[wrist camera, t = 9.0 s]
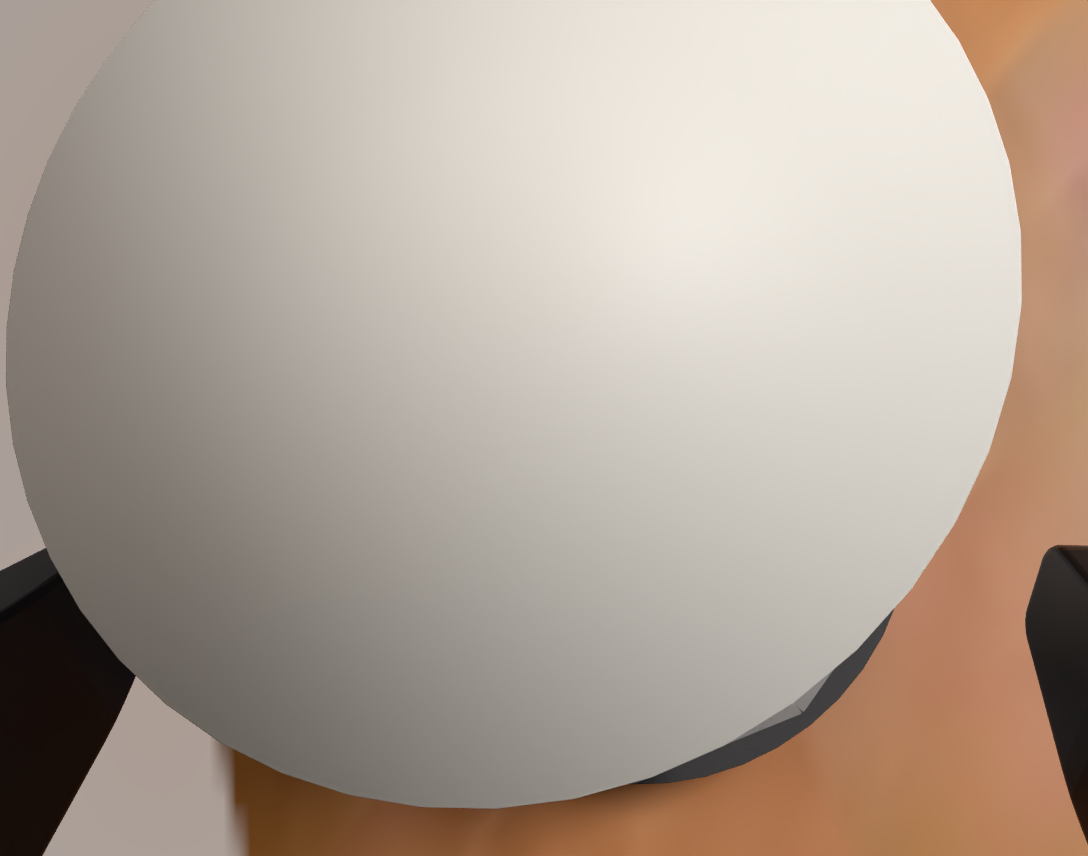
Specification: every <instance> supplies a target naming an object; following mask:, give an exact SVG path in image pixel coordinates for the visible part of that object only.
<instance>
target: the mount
mask: <svg viewBox="0 0 1088 856" xmlns="http://www.w3.org/2000/svg"><path fill="white" fill-rule="evenodd" d="M893 610H894V609H893ZM893 610H892V611H891V612H890V613H889V615H888V616H887V617H886V618H885V619H884V620H883V621H882V622H881V623H880V625H879V626H878V627H877V628H876V629H875V630H874V631H873V632H872V634H871V635H870V636H869V637H868V638H867V639H866V640H865V641H864V642H863V644H862V645H861V646H860V647H859V648H858V649H857V650H856V651H855V652H854V653H852V654H851V655H850V656H849V657H848V658H847V659H845V660H844V661H843V662H842V663H841V664H839V665H838V666H837V667H836V668H835V669H833V670H832V671H831V672H830V673H829V674H827V675H826V676H825V677H824V678H823V679H821V680H820V681H819V682H818V683H817V684H815V685H814V686H813V687H812V688H811V689H809V690H808V691H807V692H806V693H805V694H804V695H802V696H801V697H800V698H799V699H798V700H796V701H795V702H794V703H792V704H791V705H789V706H787V707H786V708H784V709H783V710H781V711H779V712H778V713H776V714H774V715H773V716H771V717H770V718H768V719H766V720H765V721H763V722H762V723H760V724H758V725H757V726H755V727H753V728H752V729H750V730H749V731H747V732H745V733H744V734H742V735H741V736H739V737H737V738H736V739H734V740H733V741H731V742H729V743H728V744H726V745H724V746H722V747H720V748H717V749H715V750H713V751H711V752H708V753H706V754H704V755H701V756H699V757H697V758H695V759H692V760H690V761H688V762H685V763H683V764H681V765H679V766H676V767H674V768H672V769H669V770H667V771H665V772H663V773H660V774H658V775H656V776H653V777H651V778H648V779H644V780H640V781H637V782H633V783H630V784H652V783H671V782H677V781H682V780H688V779H694V778H700V777H706V776H709V775H712V774H715V773H718V772H721V771H724V770H727V769H730V768H733V767H737V766H740V765H743V764H745V763H747V762H749V761H751V760H753V759H755V758H757V757H759V756H761V755H763V754H765V753H767V752H769V751H771V750H773V749H775V748H777V747H779V746H780V745H782V744H783V743H785V742H786V741H788V740H789V739H791V738H792V737H794V736H795V735H797V734H798V733H799V732H801V731H802V730H804V729H805V728H807V727H808V726H810V725H811V724H812V723H813V722H814V721H815V720H816V719H817V718H818V717H820V716H821V715H822V714H823V713H824V712H825V711H826V710H827V709H828V708H829V707H830V706H831V705H833V704H834V703H835V702H836V701H837V700H838V699H839V698H840V697H841V695H842V694H843V693H844V692H845V690H846V689H847V688H848V687H849V686H850V684H851V683H852V682H853V681H854V679H855V678H856V677H857V676H858V674H859V673H860V672H861V671H862V670H863V668H864V666H865V665H866V663H867V661H868V660H869V658H870V656H871V655H872V653H873V651H874V650H875V648H876V646H877V645H878V643H879V641H880V640H881V638H882V636H883V634H884V632H885V629H886V627H887V625H888V622H889V620H890V618H891V615H892V613H893Z"/></svg>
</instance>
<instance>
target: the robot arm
mask: <svg viewBox="0 0 1088 856" xmlns="http://www.w3.org/2000/svg"><path fill="white" fill-rule="evenodd" d="M1025 626H1026V635H1027V640H1028V644H1029V647H1030V651H1031V655H1032V659H1033V662H1034V666H1035V670H1036V674H1037V677H1038V681H1039V685H1040V689H1041V692H1042V696H1043V700H1044V704H1045V707H1046V711H1047V715H1048V719H1049V722H1050V726H1051V730H1052V734H1053V737H1054V741H1055V745H1056V749H1057V752H1058V756H1059V760H1060V764H1061V767H1062V771H1063V774H1064V778H1065V781H1066V785H1067V788H1068V791H1069V795H1070V798H1071V801H1072V804H1073V806H1074V809H1075V812H1076V815H1077V817H1078V820H1079V823H1080V826H1081V828H1082V831H1083V833H1084V836H1085V838H1086V841H1087V843H1088V546H1080V545H1056V546H1053V547H1051V548H1050V549H1048V551H1047V552H1046V553H1045V555H1044V557H1043V559H1042V562H1041V566H1040V569H1039V572H1038V575H1037V579H1036V582H1035V585H1034V588H1033V591H1032V595H1031V598H1030V601H1029V604H1028V608H1027V612H1026V619H1025ZM135 677H136V675H135V674H134V673H133V672H132V671H130V670H129V669H128V668H127V667H126V666H125V665H124V664H123V663H122V662H121V661H120V660H119V659H118V658H117V656H116V655H115V654H114V653H113V651H112V650H111V649H110V647H109V646H108V645H107V644H106V642H105V641H104V640H103V638H102V637H101V636H100V635H99V633H98V632H97V631H96V629H95V628H94V627H93V626H92V624H91V623H90V622H89V621H88V619H87V618H86V617H85V615H84V614H83V613H82V612H81V610H80V609H79V607H78V605H77V603H76V602H75V600H74V598H73V596H72V595H71V593H70V591H69V589H68V588H67V586H66V584H65V582H64V581H63V579H62V577H61V575H60V574H59V572H58V570H57V568H56V567H55V565H54V563H53V561H52V560H51V558H50V556H49V553H48V551H47V548H45V549H43V550H41V551H39V552H37V553H35V554H33V555H31V556H29V557H27V558H25V559H23V560H21V561H19V562H17V563H15V564H13V565H11V566H9V567H7V568H5V569H3V570H1V571H0V856H42V855H43V853H44V852H45V850H46V848H47V846H48V844H49V842H50V841H51V839H52V837H53V835H54V833H55V832H56V830H57V828H58V826H59V824H60V822H61V821H62V819H63V817H64V815H65V814H66V812H67V810H68V808H69V806H70V804H71V802H72V801H73V799H74V797H75V795H76V794H77V792H78V790H79V788H80V786H81V784H82V783H83V781H84V779H85V777H86V775H87V774H88V772H89V770H90V768H91V766H92V764H93V763H94V761H95V759H96V757H97V755H98V754H99V752H100V750H101V748H102V746H103V745H104V743H105V741H106V739H107V737H108V735H109V733H110V731H111V729H112V727H113V725H114V723H115V721H116V719H117V717H118V715H119V713H120V711H121V708H122V706H123V704H124V702H125V700H126V697H127V695H128V693H129V691H130V688H131V686H132V684H133V681H134V679H135Z"/></svg>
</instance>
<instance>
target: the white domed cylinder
mask: <svg viewBox="0 0 1088 856" xmlns="http://www.w3.org/2000/svg"><path fill="white" fill-rule="evenodd" d="M1021 305H1022V297H1021V230H1020V224H1019V218H1018V212H1017V206H1016V200H1015V194H1014V188H1013V182H1012V176H1011V170H1010V164H1009V161H1008V158H1007V155H1006V152H1005V149H1004V145H1003V142H1002V139H1001V136H1000V133H999V130H998V127H997V124H996V121H995V118H994V115H993V112H992V109H991V106H990V103H989V100H988V98H987V96H986V94H985V92H984V90H983V88H982V86H981V84H980V82H979V80H978V78H977V76H976V74H975V72H974V70H973V68H972V66H971V64H970V62H969V60H968V58H967V56H966V54H965V52H964V50H963V48H962V46H961V44H960V42H959V40H958V39H957V38H956V36H955V35H954V33H953V32H952V31H951V29H950V28H949V26H948V25H947V24H946V22H945V21H944V19H943V18H942V17H941V15H940V14H939V12H938V11H937V10H936V8H935V7H934V5H933V4H932V3H931V1H930V0H156V1H155V2H154V3H153V4H152V5H151V6H150V7H149V8H148V9H147V10H146V11H145V12H144V13H143V14H142V15H141V16H140V17H139V19H138V20H137V21H136V22H135V23H134V25H133V26H132V27H131V28H130V30H129V31H128V32H127V34H126V35H125V36H124V37H123V39H122V40H121V41H120V42H119V44H118V45H117V46H116V47H115V49H114V50H113V51H112V52H111V54H110V55H109V56H108V57H107V59H106V60H105V61H104V63H103V64H102V66H101V67H100V69H99V71H98V72H97V74H96V75H95V77H94V78H93V80H92V81H91V83H90V85H89V86H88V88H87V89H86V91H85V92H84V94H83V95H82V97H81V99H80V100H79V102H78V103H77V105H76V106H75V108H74V110H73V112H72V114H71V116H70V118H69V120H68V122H67V124H66V126H65V128H64V130H63V132H62V134H61V136H60V138H59V140H58V142H57V144H56V146H55V148H54V150H53V152H52V154H51V156H50V158H49V160H48V162H47V165H46V167H45V170H44V173H43V175H42V178H41V181H40V184H39V186H38V189H37V191H36V194H35V197H34V200H33V202H32V205H31V208H30V210H29V213H28V217H27V220H26V224H25V228H24V233H23V236H22V241H21V245H20V248H19V252H18V257H17V260H16V265H15V268H14V275H13V283H12V290H11V299H10V306H9V314H8V321H7V351H6V354H7V355H6V358H7V359H6V361H7V362H6V388H7V396H8V405H9V413H10V421H11V431H12V439H13V445H14V449H15V453H16V457H17V461H18V465H19V469H20V473H21V477H22V481H23V485H24V489H25V493H26V497H27V501H28V503H29V506H30V509H31V511H32V514H33V516H34V519H35V521H36V523H37V526H38V528H39V531H40V534H41V536H42V538H43V541H44V543H45V546H46V548H47V551H48V553H49V556H50V558H51V560H52V561H53V563H54V565H55V567H56V568H57V570H58V572H59V574H60V575H61V577H62V579H63V581H64V582H65V584H66V586H67V588H68V589H69V591H70V593H71V595H72V596H73V598H74V600H75V602H76V603H77V605H78V607H79V609H80V610H81V612H82V613H83V614H84V615H85V617H86V618H87V619H88V621H89V622H90V623H91V624H92V626H93V627H94V628H95V629H96V631H97V632H98V633H99V635H100V636H101V637H102V638H103V640H104V641H105V642H106V644H107V645H108V646H109V647H110V649H111V650H112V651H113V653H114V654H115V655H116V656H117V658H118V659H119V660H120V661H121V662H122V663H123V664H124V665H125V666H126V667H127V668H128V669H129V670H130V671H132V672H133V673H134V674H135V675H136V676H137V677H138V678H139V679H140V680H141V681H142V682H143V683H144V684H145V685H146V686H147V687H148V688H149V689H150V690H152V691H153V692H154V693H155V694H156V695H157V696H158V697H159V698H160V699H161V700H162V701H163V702H164V703H165V704H166V705H168V706H169V707H171V708H172V709H174V710H175V711H176V712H178V713H179V714H181V715H182V716H183V717H185V718H186V719H188V720H189V721H191V722H192V723H193V724H195V725H196V726H198V727H199V728H200V729H202V730H203V731H205V732H206V733H208V734H209V735H210V736H212V737H213V738H215V739H216V740H218V741H219V742H221V743H223V744H224V745H226V746H228V747H230V748H232V749H234V750H236V751H238V752H240V753H242V754H244V755H246V756H248V757H250V758H252V759H254V760H256V761H258V762H260V763H262V764H264V765H266V766H268V767H270V768H272V769H274V770H276V771H278V772H280V773H283V774H286V775H289V776H292V777H295V778H298V779H301V780H305V781H308V782H311V783H314V784H317V785H320V786H323V787H326V788H329V789H332V790H335V791H338V792H341V793H344V794H347V795H352V796H358V797H364V798H370V799H376V800H382V801H388V802H394V803H400V804H406V805H412V806H418V807H441V808H491V809H498V808H506V807H514V806H521V805H529V804H537V803H545V802H553V801H561V800H569V799H575V798H579V797H583V796H586V795H590V794H593V793H597V792H601V791H604V790H608V789H612V788H615V787H619V786H622V785H626V784H630V783H633V782H637V781H640V780H644V779H648V778H651V777H653V776H656V775H658V774H660V773H663V772H665V771H667V770H669V769H672V768H674V767H676V766H679V765H681V764H683V763H685V762H688V761H690V760H692V759H695V758H697V757H699V756H701V755H704V754H706V753H708V752H711V751H713V750H715V749H717V748H720V747H722V746H724V745H726V744H728V743H729V742H731V741H733V740H734V739H736V738H737V737H739V736H741V735H742V734H744V733H745V732H747V731H749V730H750V729H752V728H753V727H755V726H757V725H758V724H760V723H762V722H763V721H765V720H766V719H768V718H770V717H771V716H773V715H774V714H776V713H778V712H779V711H781V710H783V709H784V708H786V707H787V706H789V705H791V704H792V703H794V702H795V701H796V700H798V699H799V698H800V697H801V696H802V695H804V694H805V693H806V692H807V691H808V690H809V689H811V688H812V687H813V686H814V685H815V684H817V683H818V682H819V681H820V680H821V679H823V678H824V677H825V676H826V675H827V674H829V673H830V672H831V671H832V670H833V669H835V668H836V667H837V666H838V665H839V664H841V663H842V662H843V661H844V660H845V659H847V658H848V657H849V656H850V655H851V654H852V653H854V652H855V651H856V650H857V649H858V648H859V647H860V646H861V645H862V644H863V642H864V641H865V640H866V639H867V638H868V637H869V636H870V635H871V634H872V632H873V631H874V630H875V629H876V628H877V627H878V626H879V625H880V623H881V622H882V621H883V620H884V619H885V618H886V617H887V616H888V615H889V613H890V612H891V611H892V610H893V609H894V608H895V607H896V606H897V605H898V603H899V602H900V601H901V600H902V599H903V598H904V597H905V596H906V594H907V593H908V592H909V591H910V590H911V589H912V587H913V586H914V584H915V583H916V581H917V580H918V578H919V577H920V575H921V574H922V572H923V571H924V569H925V568H926V566H927V565H928V563H929V562H930V560H931V559H932V557H933V556H934V554H935V553H936V551H937V550H938V548H939V547H940V545H941V544H942V542H943V541H944V539H945V538H946V536H947V535H948V533H949V532H950V530H951V529H952V527H953V526H954V524H955V523H956V521H957V518H958V516H959V514H960V512H961V510H962V508H963V506H964V504H965V501H966V499H967V497H968V495H969V493H970V491H971V489H972V487H973V484H974V482H975V480H976V478H977V476H978V474H979V472H980V470H981V467H982V465H983V463H984V461H985V459H986V457H987V455H988V453H989V450H990V447H991V443H992V440H993V437H994V433H995V430H996V427H997V423H998V420H999V417H1000V413H1001V410H1002V407H1003V403H1004V400H1005V397H1006V393H1007V390H1008V387H1009V383H1010V380H1011V375H1012V368H1013V361H1014V354H1015V347H1016V340H1017V333H1018V326H1019V319H1020V312H1021Z"/></svg>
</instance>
